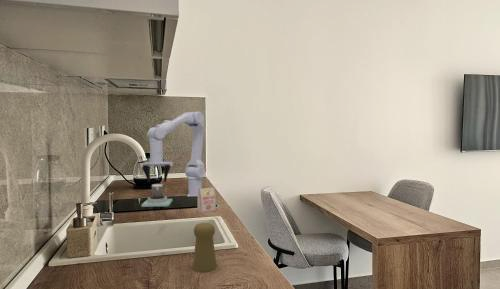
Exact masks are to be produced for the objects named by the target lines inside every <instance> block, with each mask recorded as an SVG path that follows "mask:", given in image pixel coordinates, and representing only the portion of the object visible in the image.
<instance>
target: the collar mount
mask: <svg viewBox="0 0 500 289" xmlns="http://www.w3.org/2000/svg"><path fill="white" fill-rule="evenodd" d="M147 199H148V203H153V204H155V203H164V202H167V199H168V196H167V195H163V198H160V199H152V195H151V196H148V197H147Z"/></svg>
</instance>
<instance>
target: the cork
mask: <svg viewBox="0 0 500 289" xmlns="http://www.w3.org/2000/svg"><path fill="white" fill-rule="evenodd" d="M215 232H216V230H215V226H214V224H212V223H211V222H201V223H200V222H199V223H197V224H196V225H194V227H193V234H194V237H195V242H194V243H195V245H194V254H193V262H192V270H193V271H194V272H199V273H207V272H208V273H209V272H212V271H214V270H216V269H217V267H218V263H217V258H216V252H215V244H214V237H213V236H214V235H215Z"/></svg>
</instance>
